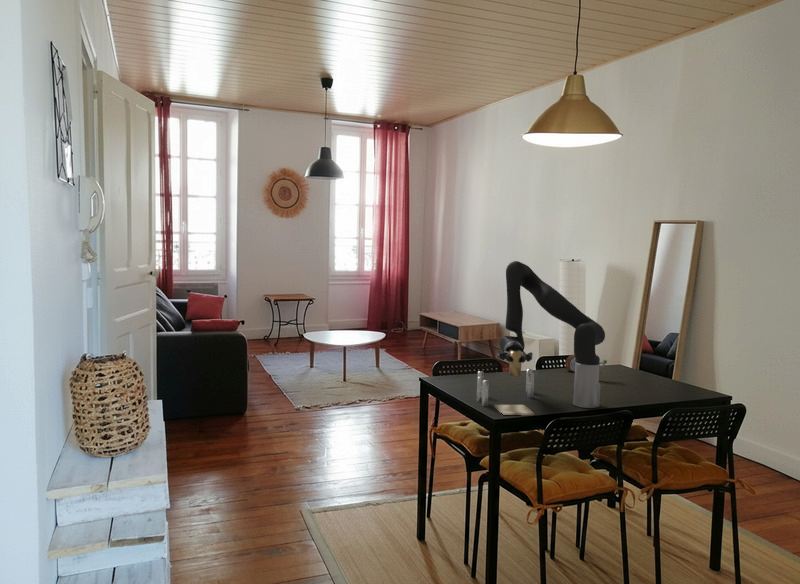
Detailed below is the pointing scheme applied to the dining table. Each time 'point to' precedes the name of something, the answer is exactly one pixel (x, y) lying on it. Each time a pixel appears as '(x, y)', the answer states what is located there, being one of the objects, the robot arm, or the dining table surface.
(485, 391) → the steel posts
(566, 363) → the tin
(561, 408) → the dining table surface
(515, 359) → the bronze spacer
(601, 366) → the mechanical component
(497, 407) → the birch pad
